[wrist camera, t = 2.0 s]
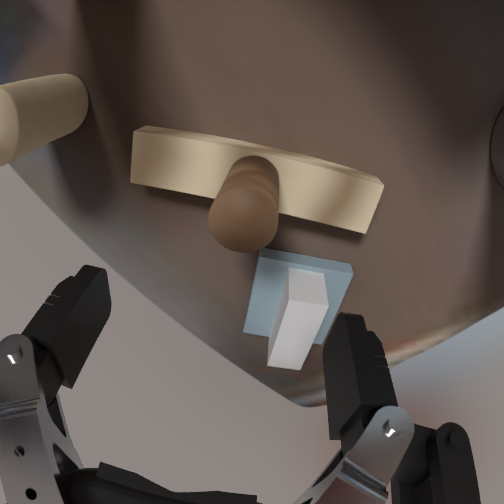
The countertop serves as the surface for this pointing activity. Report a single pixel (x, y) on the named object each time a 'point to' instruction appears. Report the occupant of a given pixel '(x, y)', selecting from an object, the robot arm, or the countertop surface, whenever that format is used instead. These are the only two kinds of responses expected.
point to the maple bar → (252, 184)
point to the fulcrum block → (294, 303)
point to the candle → (39, 112)
